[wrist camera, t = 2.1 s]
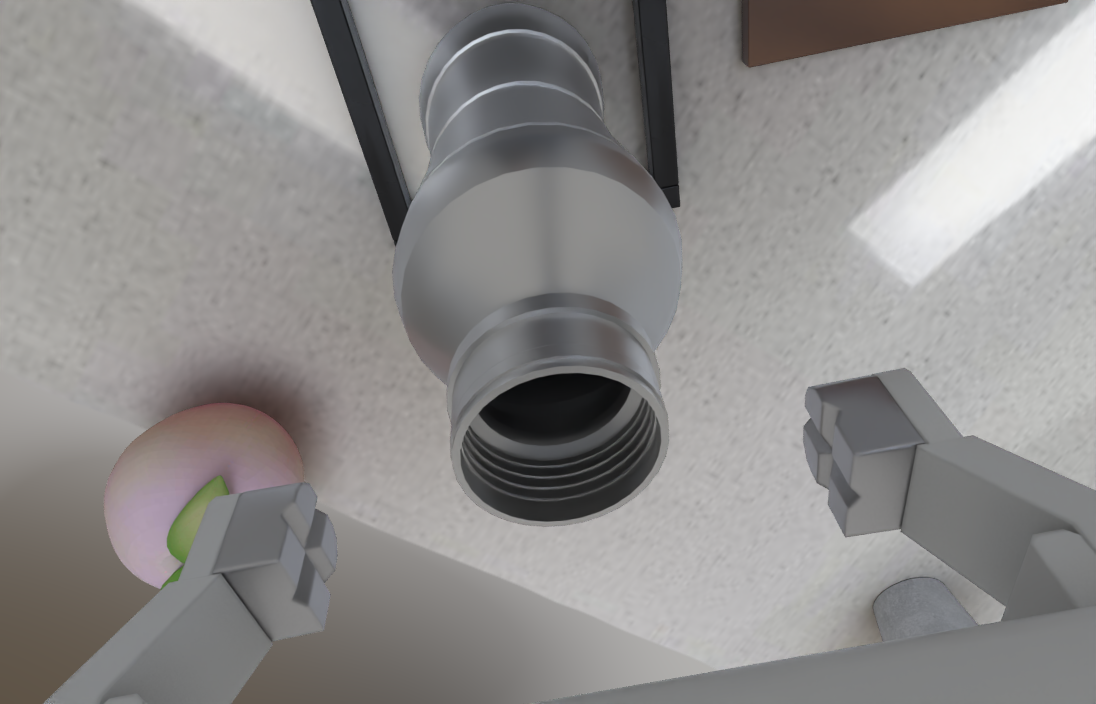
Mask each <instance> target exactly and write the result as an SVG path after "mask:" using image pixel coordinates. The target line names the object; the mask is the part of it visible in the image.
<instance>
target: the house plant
mask: <svg viewBox="0 0 1096 704" xmlns="http://www.w3.org/2000/svg"><path fill="white" fill-rule="evenodd" d="M873 610H874V614H875V617H876V620H877V624H878V627H879V630H880V633H881V637H882V640H883V642H886V641H891V640H897V639H903V638H909V637H915V636H920V635H926V634H932V633H938V632H943V631H949V630H955V629H961V628H967V627H972V626H978V624H977V623H976V622H975V620H974V619H973V618H972V617H971V616H970V614H969V613H968V612H967V611H966V610H965V609H964V607H963V606H962V605H961V604H960V603H959V602H958V600H957V599H956V598H955V597H954V596H953V595H952V593H951V592H950V591H949V590H948V589H947V587H946V586H945V585H944V584H943V583H942V582H941V581H939V580H937V579H933V578H923V577H921V578H914V579H909V580H905V581H902V582H900V583H897V584H895V585H893V586H891V587H889V588H888V589H886V590H885V591H884V592H882V593H881V594H880V595H879V596H878V597H877V599H876V600H875V602H874V605H873Z"/></svg>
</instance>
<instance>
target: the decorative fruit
mask: <svg viewBox="0 0 1096 704" xmlns="http://www.w3.org/2000/svg"><path fill="white" fill-rule="evenodd" d="M300 482H304V468H303V463H302V459H301V456H300V453H299V451H298V449H297V447H296V445H295V443H294V441H293V440H292V438H291V437H290V435H289V434H288V433H287V431H286V430H285V429H284V428H283V427H282V426H281V425H280V424H279V423H278V422H276V421H275V420H274V419H273V418H271V417H270V416H268V415H267V414H265V413H263V412H261V411H259V410H257V409H254V408H252V407H249V406H245V405H240V404H233V403H212V404H206V405H201V406H197V407H193V408H190V409H187V410H183V411H181V412H178V413H176V414H174V415H172V416H170V417H168V418H166V419H164V420H162V421H161V422H159V423H157V424H156V425H154V426H153V427H151V428H149V429H148V430H147V431H145V432H144V433H143V434H141V435H140V436H139V437H137V438H136V439H135V440H134V441H133V442H132V443H131V444H130V445H129V446H128V447H127V448H126V449H125V451H124V452H123V453H122V455H121V456H120V457H119V459H118V461H117V463H116V464H115V466H114V468H113V470H112V472H111V474H110V476H109V478H108V482H107V485H106V489H105V495H104V513H105V519H106V526H107V530H108V533H109V537H110V540H111V543H112V546H113V548H114V550H115V552H116V554H117V555H118V557H119V558H120V560H121V561H122V563H123V564H124V565H125V566H126V567H127V568H128V569H129V570H130V571H131V572H132V573H133V574H134V575H135V576H137V577H138V578H139V579H141V580H142V581H144V582H146V583H148V584H150V585H152V586H155V587H157V588H160V589H161V590H162V589H163V588H164V587H165V586H166V585H167V584H168V583H170V582H175V581H178V579H179V577H180V574H181V572H182V569H183V567H184V564H185V561H186V559H187V556H188V554H189V551H190V549H191V546H192V544H193V541H194V538H195V536H196V533H197V531H198V528H199V526H200V523H201V521H202V518H203V516H204V513H205V510H206V508H207V505H208V504H209V502H211V501H212V500H213V499H214V498H215V497H218V496H224V495H231V494H237V493H244V492H245V491H251V490H257V489H263V488H270V487H276V486H282V485H288V484H294V483H300Z"/></svg>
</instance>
